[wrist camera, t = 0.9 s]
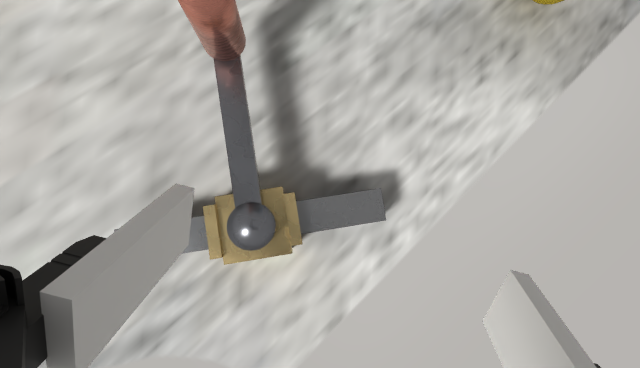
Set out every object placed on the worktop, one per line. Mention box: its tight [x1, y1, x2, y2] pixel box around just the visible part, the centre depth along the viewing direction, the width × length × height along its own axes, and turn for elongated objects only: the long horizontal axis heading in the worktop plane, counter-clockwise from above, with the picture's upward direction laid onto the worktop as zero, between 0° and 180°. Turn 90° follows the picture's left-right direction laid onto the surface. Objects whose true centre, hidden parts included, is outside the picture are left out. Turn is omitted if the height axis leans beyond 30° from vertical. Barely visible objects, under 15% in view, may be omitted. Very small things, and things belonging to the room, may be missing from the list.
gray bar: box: [114, 187, 386, 265], centre depth 33 cm, size 6×24×4 cm, turn 99°
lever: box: [178, 0, 276, 251], centre depth 26 cm, size 20×4×11 cm, turn 9°
